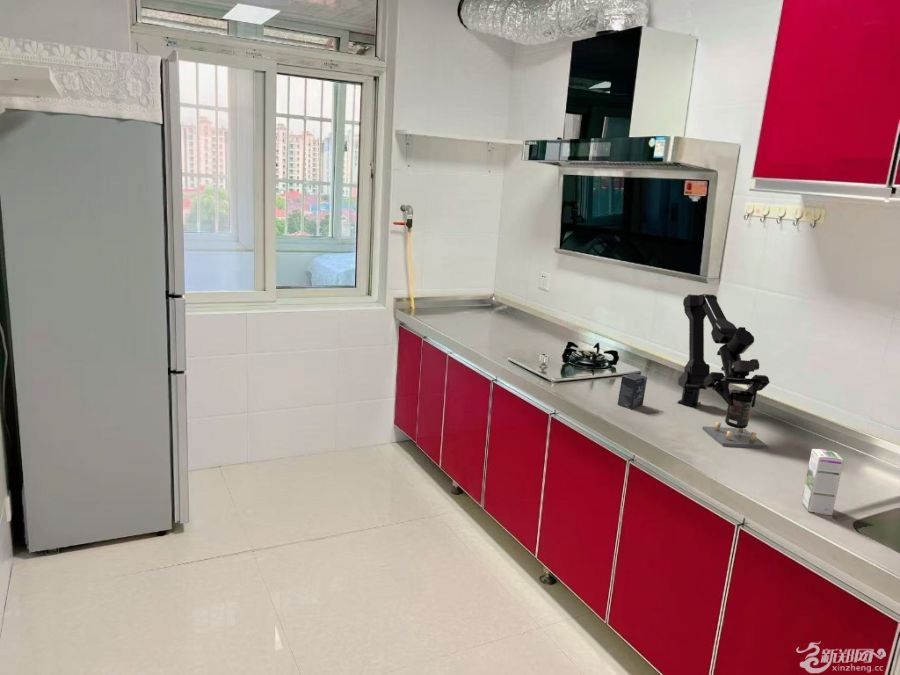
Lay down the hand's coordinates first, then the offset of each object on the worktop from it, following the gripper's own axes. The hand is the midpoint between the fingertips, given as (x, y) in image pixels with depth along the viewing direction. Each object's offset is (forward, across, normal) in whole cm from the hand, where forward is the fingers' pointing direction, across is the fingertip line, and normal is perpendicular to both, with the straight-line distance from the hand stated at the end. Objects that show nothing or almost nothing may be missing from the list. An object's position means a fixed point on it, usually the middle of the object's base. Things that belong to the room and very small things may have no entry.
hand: (742, 406), depth 211 cm
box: (-12, -24, +28) cm, 39 cm away
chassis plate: (+7, 0, +8) cm, 11 cm away
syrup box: (+40, -2, -24) cm, 46 cm away
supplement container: (+4, 0, +6) cm, 7 cm away
